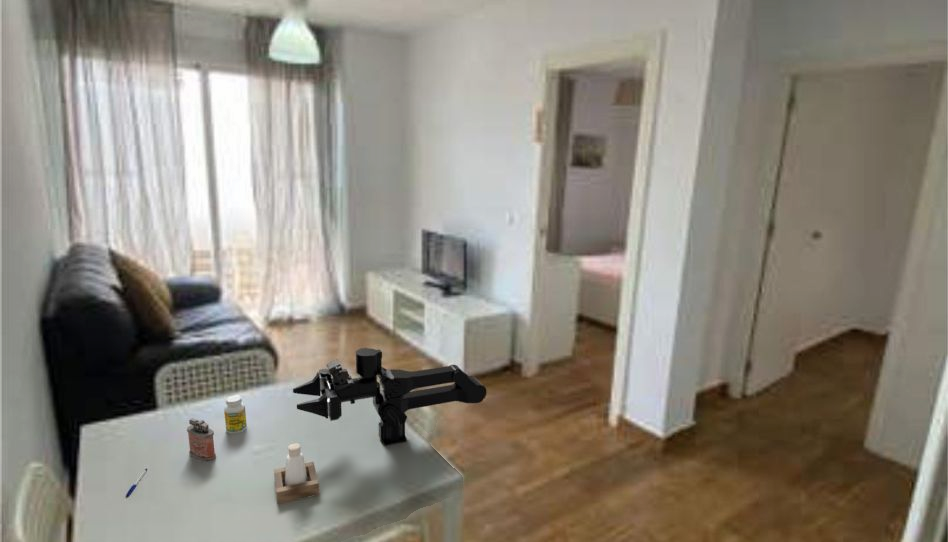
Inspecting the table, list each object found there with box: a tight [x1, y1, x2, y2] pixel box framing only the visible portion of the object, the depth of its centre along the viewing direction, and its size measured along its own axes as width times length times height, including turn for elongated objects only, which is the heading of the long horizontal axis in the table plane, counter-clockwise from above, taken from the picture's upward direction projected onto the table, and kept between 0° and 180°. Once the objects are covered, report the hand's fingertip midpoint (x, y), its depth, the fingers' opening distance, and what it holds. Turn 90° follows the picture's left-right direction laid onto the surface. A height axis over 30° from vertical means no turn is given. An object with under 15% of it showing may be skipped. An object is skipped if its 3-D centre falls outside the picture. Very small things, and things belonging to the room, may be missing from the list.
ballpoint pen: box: [125, 468, 148, 498], centre depth 125 cm, size 10×1×1 cm, turn 11°
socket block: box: [273, 461, 320, 505], centre depth 125 cm, size 9×9×3 cm
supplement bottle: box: [223, 394, 248, 435], centre depth 148 cm, size 5×5×10 cm
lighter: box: [186, 417, 217, 463], centre depth 135 cm, size 8×3×10 cm, turn 65°
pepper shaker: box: [284, 443, 309, 487], centre depth 124 cm, size 5×5×11 cm
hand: (294, 398), depth 134 cm, fingers open, 9 cm apart
